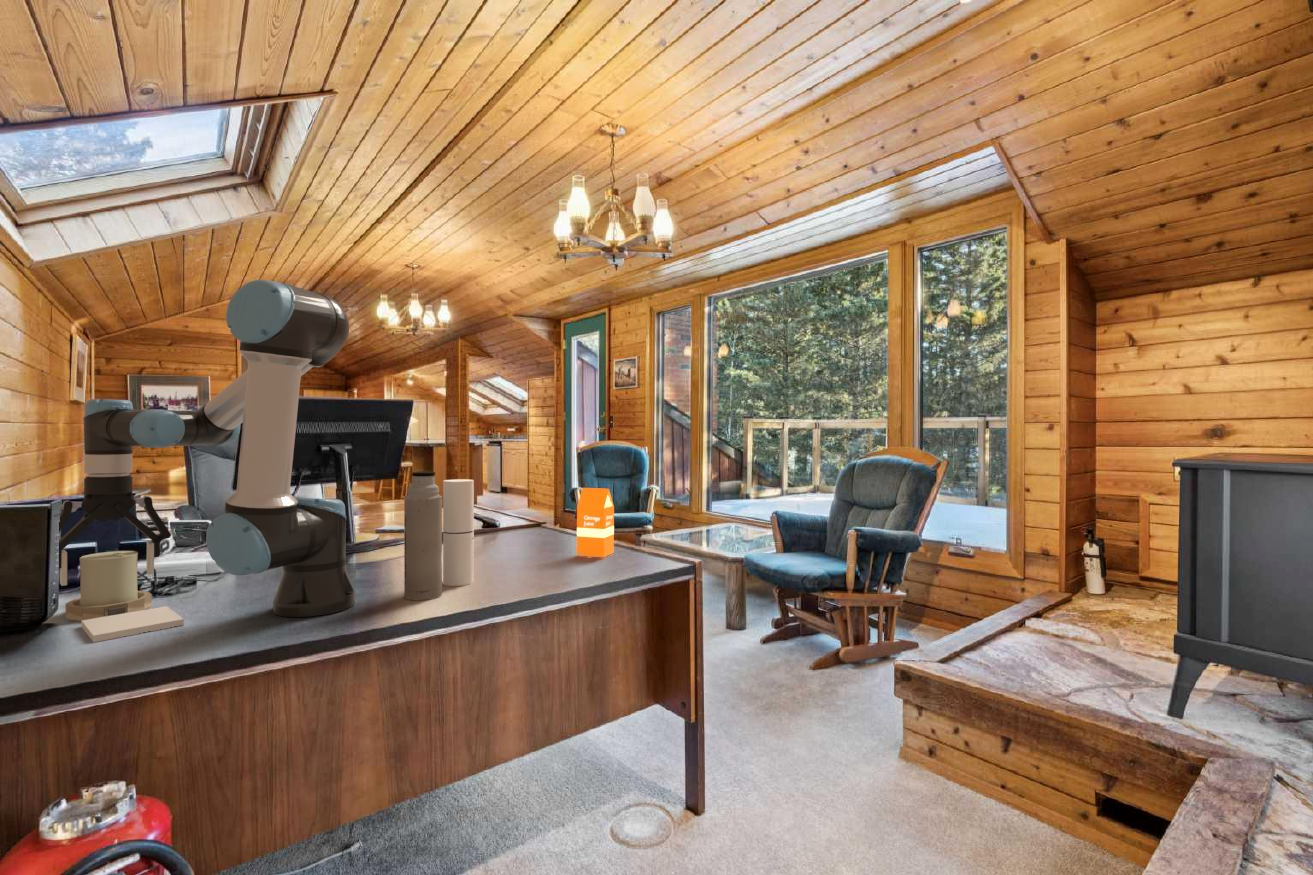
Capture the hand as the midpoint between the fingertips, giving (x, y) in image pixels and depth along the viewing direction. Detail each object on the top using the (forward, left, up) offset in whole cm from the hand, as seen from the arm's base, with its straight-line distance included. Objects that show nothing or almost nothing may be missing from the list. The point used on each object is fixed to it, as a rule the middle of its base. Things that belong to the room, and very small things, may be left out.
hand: (108, 578), depth 131 cm
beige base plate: (-16, -1, -7) cm, 18 cm away
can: (0, 0, -7) cm, 7 cm away
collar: (0, 0, -7) cm, 7 cm away
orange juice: (-31, -107, -7) cm, 112 cm away
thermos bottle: (-36, -49, -7) cm, 61 cm away
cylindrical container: (-31, -61, -7) cm, 69 cm away
